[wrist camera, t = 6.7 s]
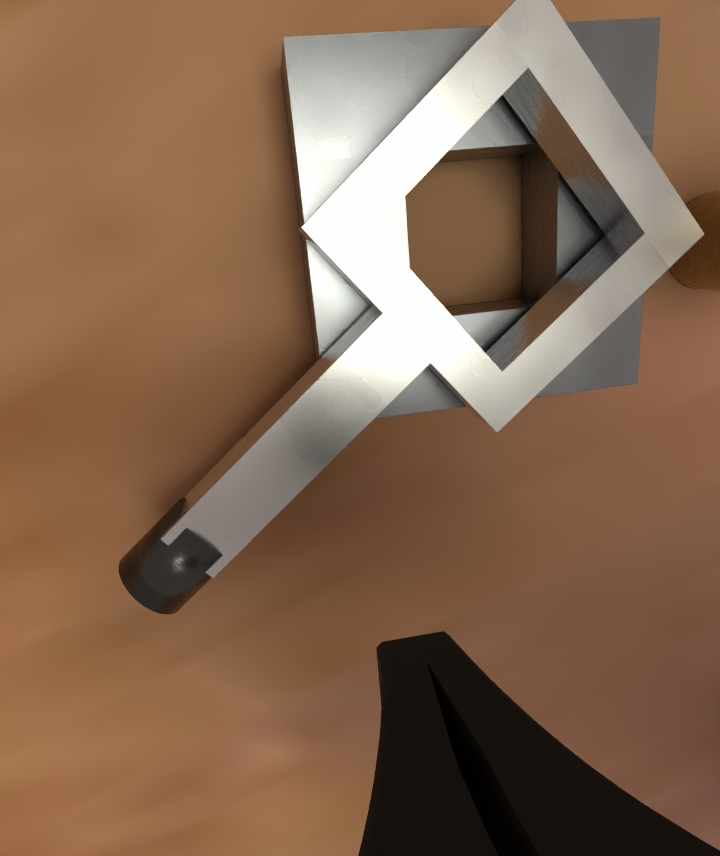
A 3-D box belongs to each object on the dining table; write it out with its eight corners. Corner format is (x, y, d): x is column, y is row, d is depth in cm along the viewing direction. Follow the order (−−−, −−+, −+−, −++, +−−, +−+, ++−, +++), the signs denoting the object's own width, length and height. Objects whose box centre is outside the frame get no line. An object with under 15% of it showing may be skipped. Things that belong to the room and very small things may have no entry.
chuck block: (596, 368, 20) (637, 383, 18) (320, 404, 19) (327, 424, 17) (609, 48, 17) (660, 17, 15) (281, 67, 16) (282, 37, 14)
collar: (249, 628, 18) (247, 675, 16) (54, 488, 16) (23, 524, 14) (655, 235, 17) (710, 234, 15) (500, 14, 14) (540, -26, 12)
